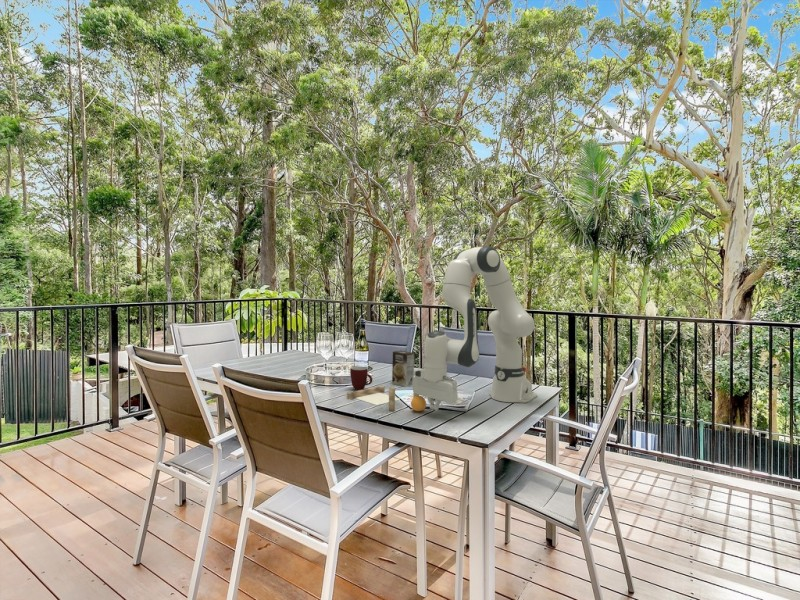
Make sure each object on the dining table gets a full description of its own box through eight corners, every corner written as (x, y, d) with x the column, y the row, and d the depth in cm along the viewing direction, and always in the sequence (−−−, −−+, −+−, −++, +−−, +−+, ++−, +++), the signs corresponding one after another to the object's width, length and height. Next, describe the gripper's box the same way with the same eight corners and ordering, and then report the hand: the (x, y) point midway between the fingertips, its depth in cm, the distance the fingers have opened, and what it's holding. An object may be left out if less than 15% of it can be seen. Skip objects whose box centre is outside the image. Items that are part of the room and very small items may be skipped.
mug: (374, 388, 217) (374, 367, 216) (370, 392, 209) (370, 370, 208) (352, 386, 219) (353, 366, 218) (347, 391, 211) (348, 369, 210)
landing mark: (379, 393, 208) (379, 392, 208) (401, 399, 198) (401, 399, 198) (355, 398, 199) (355, 397, 199) (376, 405, 189) (376, 405, 189)
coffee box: (391, 384, 226) (392, 351, 225) (399, 381, 231) (400, 350, 230) (405, 387, 220) (406, 353, 219) (414, 385, 225) (414, 352, 224)
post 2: (416, 402, 194) (416, 381, 193) (420, 404, 192) (420, 382, 191) (412, 403, 192) (412, 382, 191) (416, 405, 190) (416, 383, 190)
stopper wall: (381, 391, 212) (381, 385, 212) (384, 392, 211) (384, 386, 210) (346, 398, 198) (347, 392, 198) (349, 399, 197) (349, 393, 197)
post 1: (391, 409, 184) (392, 386, 183) (396, 410, 182) (396, 388, 182) (387, 410, 182) (387, 387, 182) (391, 411, 181) (391, 389, 180)
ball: (419, 393, 186) (430, 398, 182) (415, 407, 186) (427, 413, 182) (410, 394, 181) (421, 400, 177) (406, 408, 182) (417, 414, 178)
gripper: (461, 377, 171) (460, 414, 172) (421, 368, 186) (420, 402, 187) (451, 379, 167) (450, 417, 168) (410, 370, 181) (409, 405, 182)
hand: (434, 409), depth 177 cm, fingers closed
